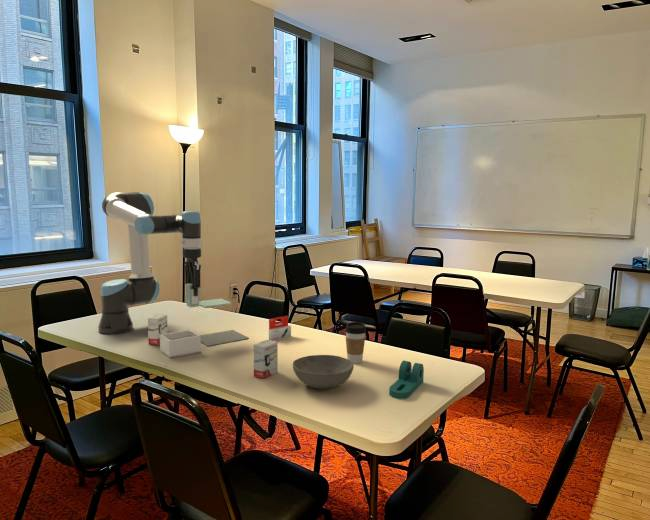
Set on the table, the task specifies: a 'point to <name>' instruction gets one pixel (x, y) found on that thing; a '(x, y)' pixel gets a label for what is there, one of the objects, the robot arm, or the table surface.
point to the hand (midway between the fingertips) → (193, 302)
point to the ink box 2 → (265, 358)
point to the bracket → (407, 380)
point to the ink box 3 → (279, 328)
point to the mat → (221, 338)
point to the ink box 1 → (156, 328)
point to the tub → (180, 343)
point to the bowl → (323, 370)
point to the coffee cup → (355, 341)
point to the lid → (206, 302)
